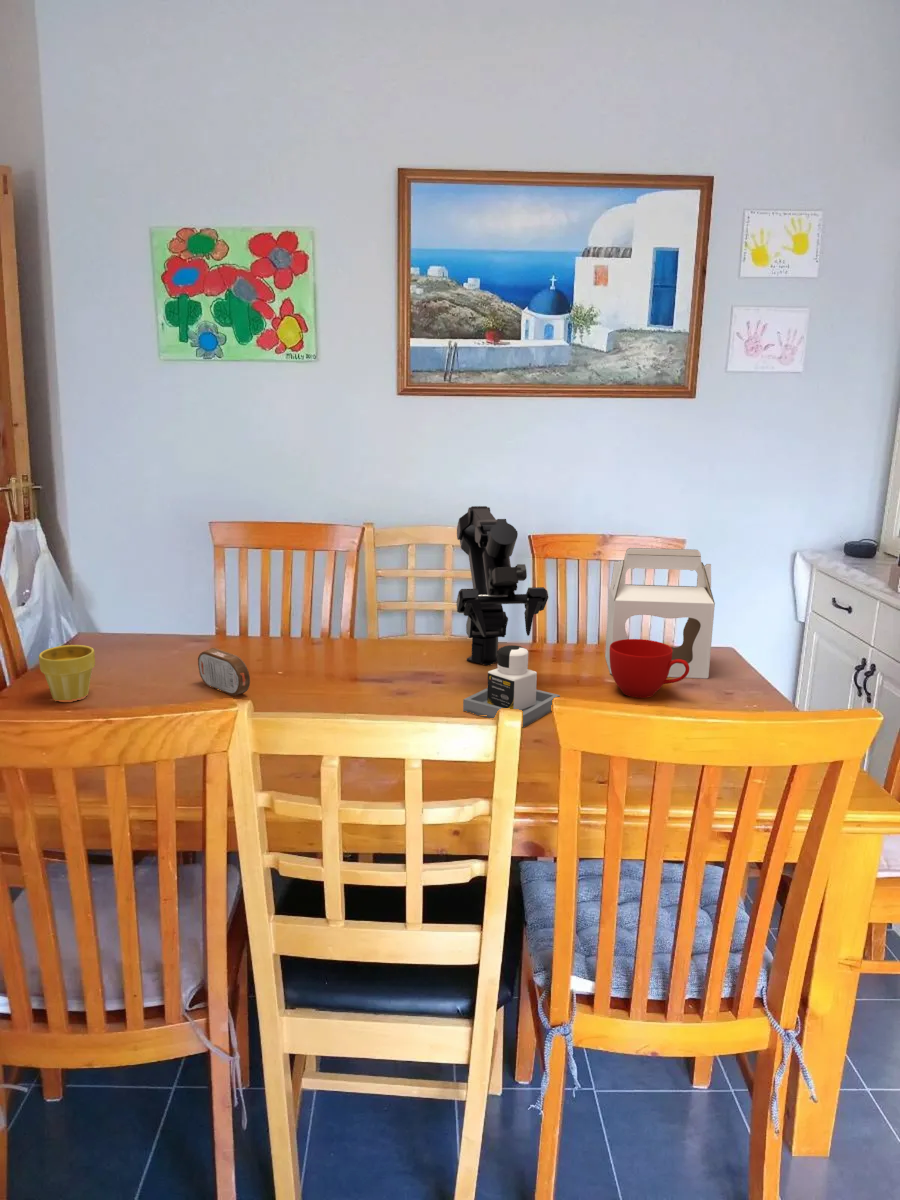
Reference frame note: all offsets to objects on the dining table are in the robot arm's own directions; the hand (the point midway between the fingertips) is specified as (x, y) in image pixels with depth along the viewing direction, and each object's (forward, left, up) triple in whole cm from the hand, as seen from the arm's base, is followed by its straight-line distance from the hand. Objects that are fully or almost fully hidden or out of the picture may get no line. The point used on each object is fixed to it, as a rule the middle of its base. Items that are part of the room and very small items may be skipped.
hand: (506, 635), depth 181 cm
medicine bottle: (+5, +5, -13) cm, 15 cm away
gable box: (-38, +17, -13) cm, 43 cm away
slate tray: (+5, +5, -13) cm, 15 cm away
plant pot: (+55, -70, -13) cm, 90 cm away
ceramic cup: (-20, +23, -13) cm, 33 cm away
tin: (+33, -49, -14) cm, 61 cm away
